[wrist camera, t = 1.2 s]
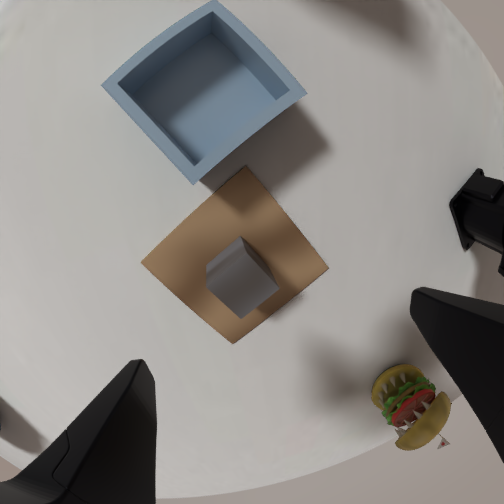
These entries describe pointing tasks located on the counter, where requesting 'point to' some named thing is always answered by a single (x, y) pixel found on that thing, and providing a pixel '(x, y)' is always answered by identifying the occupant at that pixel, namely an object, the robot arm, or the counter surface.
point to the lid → (236, 258)
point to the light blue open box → (203, 88)
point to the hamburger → (411, 405)
